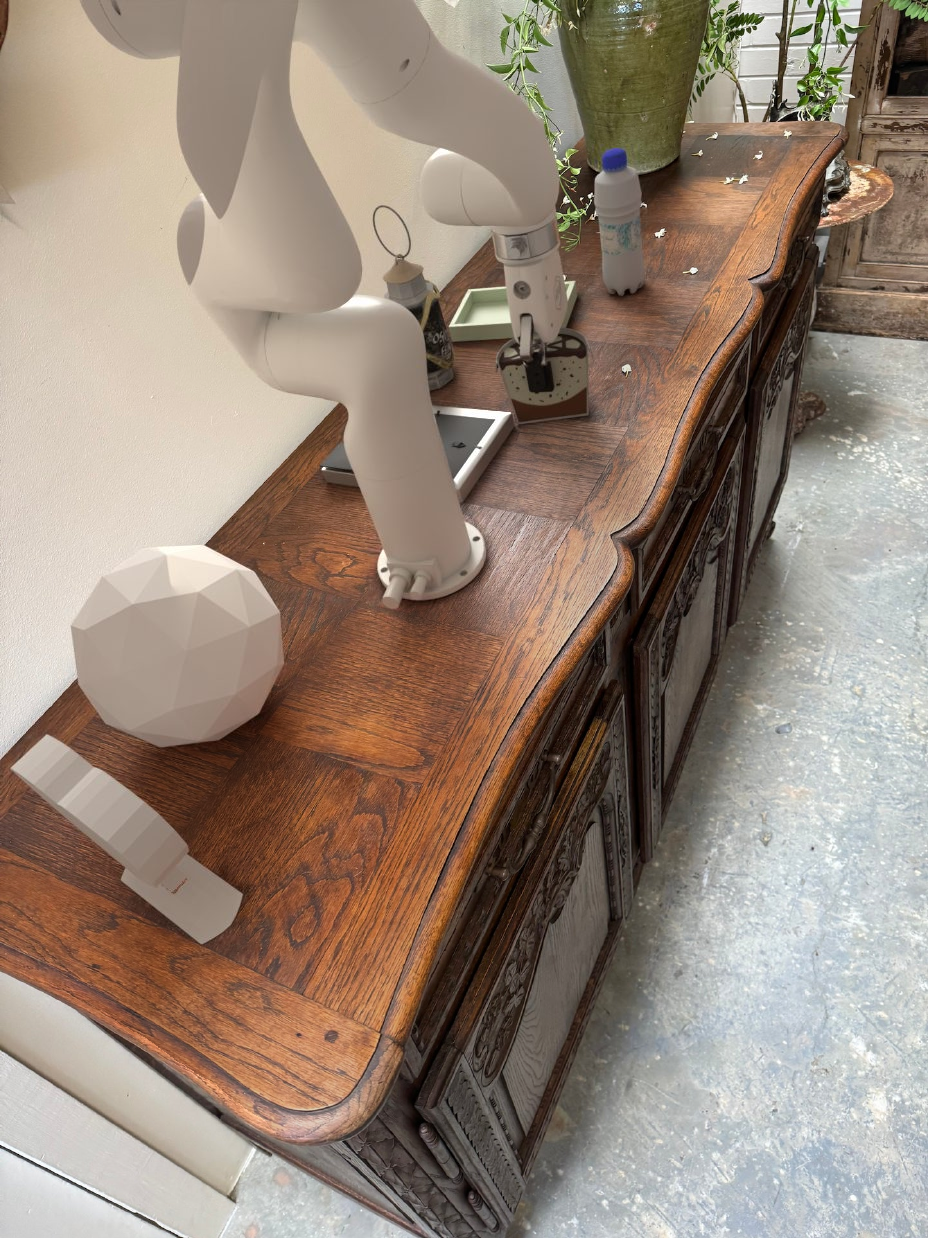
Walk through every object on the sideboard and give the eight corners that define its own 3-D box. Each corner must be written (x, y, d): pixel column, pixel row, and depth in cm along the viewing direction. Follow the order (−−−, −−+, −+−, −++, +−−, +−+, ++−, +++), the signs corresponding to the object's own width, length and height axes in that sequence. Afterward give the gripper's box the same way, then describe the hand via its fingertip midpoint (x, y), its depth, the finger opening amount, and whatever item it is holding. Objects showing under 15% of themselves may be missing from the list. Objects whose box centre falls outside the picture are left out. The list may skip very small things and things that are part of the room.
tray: (563, 335, 123) (561, 319, 122) (451, 341, 129) (448, 326, 128) (577, 295, 131) (575, 280, 129) (471, 303, 137) (468, 289, 135)
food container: (599, 387, 112) (591, 318, 105) (600, 413, 108) (591, 343, 101) (509, 400, 115) (495, 333, 108) (506, 425, 111) (491, 358, 104)
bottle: (594, 289, 131) (580, 153, 116) (631, 273, 132) (621, 135, 117) (618, 304, 126) (605, 163, 112) (655, 287, 127) (648, 146, 113)
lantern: (471, 371, 122) (429, 195, 104) (433, 400, 119) (383, 223, 101) (430, 358, 127) (383, 188, 109) (392, 386, 124) (338, 215, 106)
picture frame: (326, 482, 111) (462, 502, 102) (319, 465, 109) (457, 484, 100) (384, 413, 120) (514, 425, 110) (378, 395, 118) (511, 407, 108)
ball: (294, 725, 93) (347, 638, 77) (118, 811, 81) (139, 728, 65) (210, 589, 97) (245, 481, 82) (31, 651, 85) (32, 538, 70)
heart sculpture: (258, 905, 71) (157, 794, 58) (216, 957, 68) (102, 853, 56) (148, 826, 79) (38, 714, 66) (107, 870, 77) (-14, 762, 64)
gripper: (541, 270, 89) (563, 413, 101) (572, 200, 99) (588, 337, 112) (475, 276, 91) (504, 415, 104) (511, 207, 102) (534, 340, 115)
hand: (547, 373), depth 108 cm, fingers closed on food container, 6 cm apart
